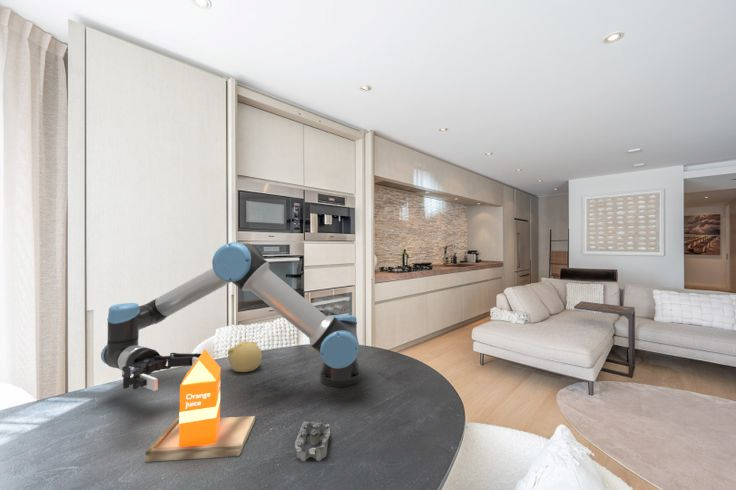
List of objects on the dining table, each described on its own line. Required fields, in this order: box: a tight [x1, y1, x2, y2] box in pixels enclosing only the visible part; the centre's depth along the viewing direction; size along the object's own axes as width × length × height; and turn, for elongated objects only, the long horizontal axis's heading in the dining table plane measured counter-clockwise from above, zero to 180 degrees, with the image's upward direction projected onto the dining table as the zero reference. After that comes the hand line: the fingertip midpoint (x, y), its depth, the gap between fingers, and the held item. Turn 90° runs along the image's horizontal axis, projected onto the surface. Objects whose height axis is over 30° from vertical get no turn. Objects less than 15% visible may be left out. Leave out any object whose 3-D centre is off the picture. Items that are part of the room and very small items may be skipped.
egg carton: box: [294, 420, 331, 462], centre depth 73 cm, size 11×8×4 cm
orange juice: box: [178, 348, 222, 447], centre depth 75 cm, size 8×9×20 cm
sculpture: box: [227, 341, 263, 373], centre depth 120 cm, size 12×12×11 cm
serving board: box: [145, 415, 256, 463], centre depth 76 cm, size 20×14×2 cm
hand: (184, 374), depth 80 cm, fingers open, 13 cm apart
